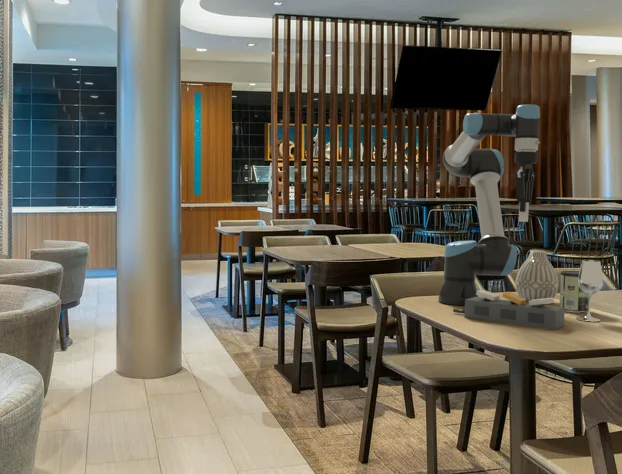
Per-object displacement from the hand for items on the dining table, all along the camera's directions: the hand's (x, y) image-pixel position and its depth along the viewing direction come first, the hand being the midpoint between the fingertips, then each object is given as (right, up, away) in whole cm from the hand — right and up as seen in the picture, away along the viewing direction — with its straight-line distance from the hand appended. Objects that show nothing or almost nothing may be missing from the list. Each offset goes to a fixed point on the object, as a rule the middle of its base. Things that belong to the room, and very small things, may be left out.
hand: (523, 221), depth 229 cm
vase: (+15, -31, +33) cm, 47 cm away
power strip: (-8, -33, -6) cm, 34 cm away
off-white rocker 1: (-13, -25, -3) cm, 28 cm away
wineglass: (+21, -33, -2) cm, 40 cm away
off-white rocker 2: (+2, -26, -14) cm, 29 cm away
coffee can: (+23, -32, +15) cm, 43 cm away
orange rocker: (-6, -26, -8) cm, 27 cm away
